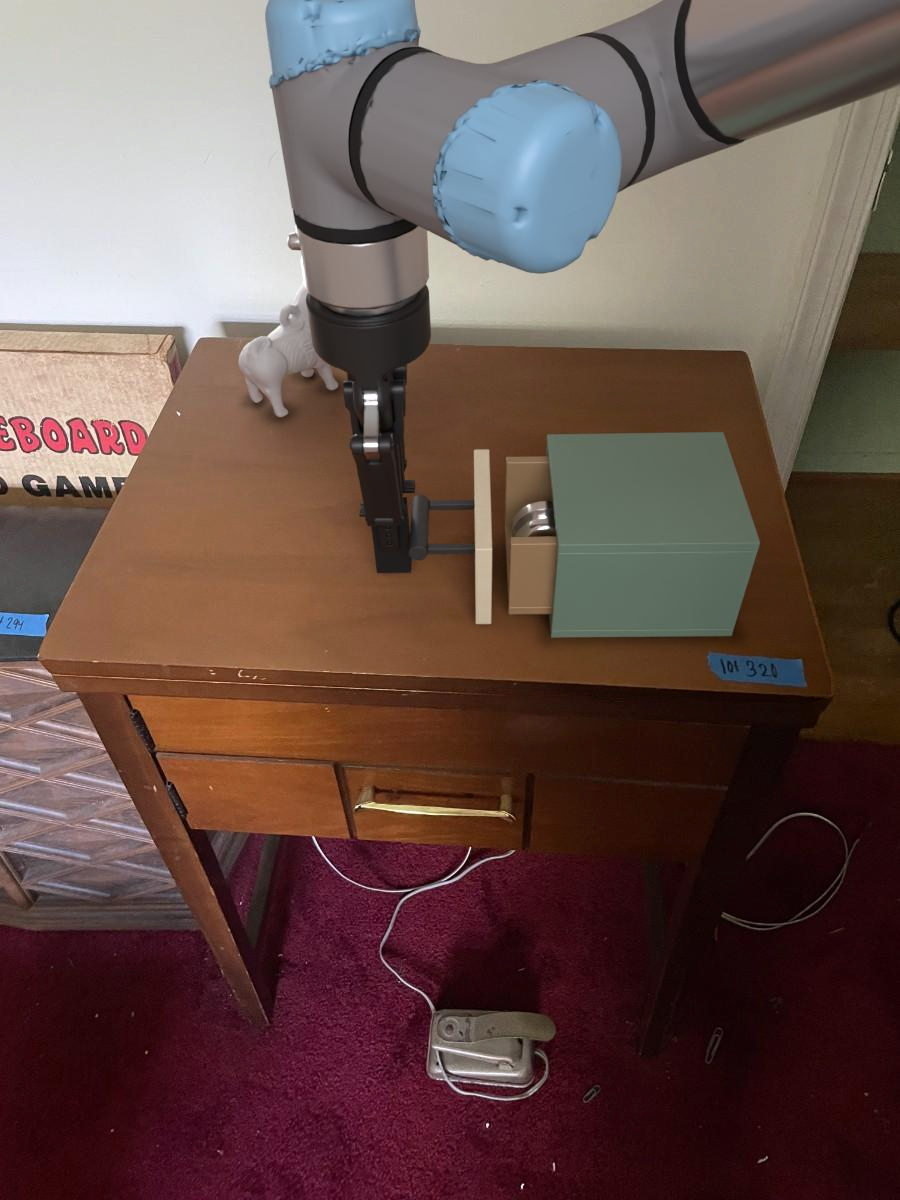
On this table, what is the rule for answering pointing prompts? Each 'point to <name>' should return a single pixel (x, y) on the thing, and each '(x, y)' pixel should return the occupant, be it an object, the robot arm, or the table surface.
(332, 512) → the table surface
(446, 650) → the table surface
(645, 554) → the cabinet
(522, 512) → the metal grooved wheel
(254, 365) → the dog figurine
